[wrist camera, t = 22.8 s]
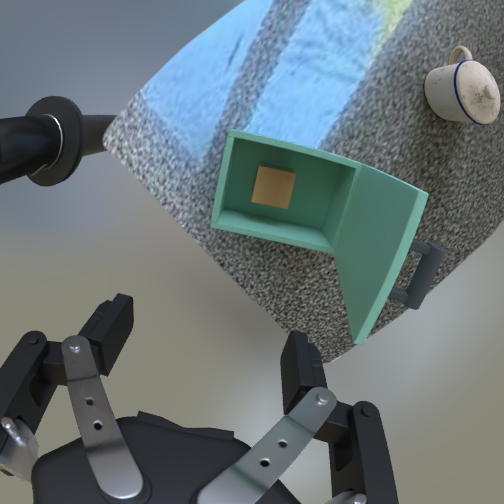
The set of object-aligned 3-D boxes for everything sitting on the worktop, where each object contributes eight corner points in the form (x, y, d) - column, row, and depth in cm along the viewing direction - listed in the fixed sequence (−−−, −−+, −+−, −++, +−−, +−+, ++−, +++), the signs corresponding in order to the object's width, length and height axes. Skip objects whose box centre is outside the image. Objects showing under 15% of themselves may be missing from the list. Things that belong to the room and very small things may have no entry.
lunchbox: (217, 210, 40) (209, 227, 33) (234, 129, 35) (228, 129, 29) (323, 234, 41) (335, 255, 34) (346, 157, 36) (364, 164, 30)
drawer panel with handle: (352, 344, 19) (405, 353, 19) (419, 189, 14) (474, 214, 14) (333, 255, 34) (368, 265, 34) (362, 163, 29) (399, 177, 29)
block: (252, 193, 38) (251, 201, 34) (259, 161, 36) (258, 165, 32) (284, 200, 39) (287, 209, 34) (292, 168, 37) (296, 174, 33)
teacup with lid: (465, 126, 33) (513, 134, 22) (422, 115, 33) (470, 117, 22) (462, 59, 28) (507, 52, 17) (418, 44, 28) (462, 27, 17)
